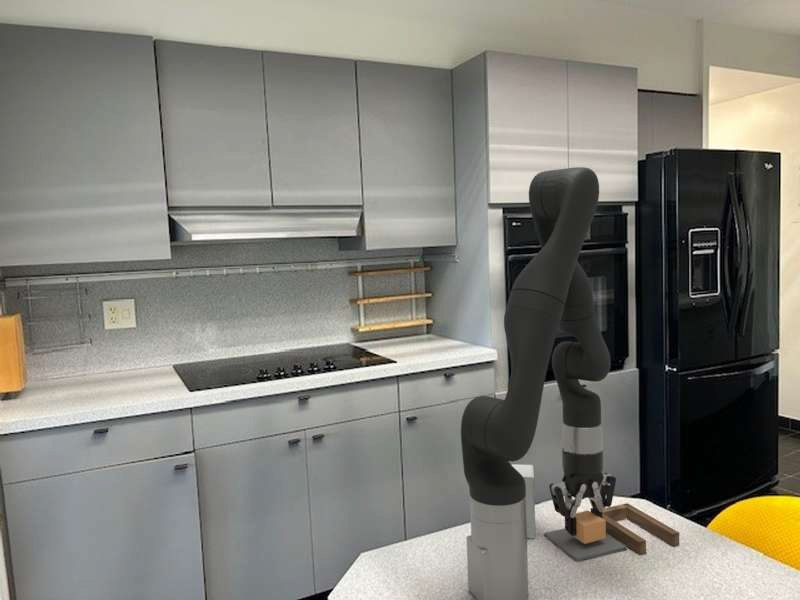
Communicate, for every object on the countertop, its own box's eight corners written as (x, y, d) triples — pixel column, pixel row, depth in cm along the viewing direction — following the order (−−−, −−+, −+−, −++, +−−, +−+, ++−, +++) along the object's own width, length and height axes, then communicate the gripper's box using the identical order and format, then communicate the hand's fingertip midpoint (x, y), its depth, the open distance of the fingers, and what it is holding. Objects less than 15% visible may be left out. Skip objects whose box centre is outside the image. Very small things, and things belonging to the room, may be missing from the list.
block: (584, 543, 114) (584, 525, 114) (567, 532, 119) (567, 515, 119) (605, 538, 116) (605, 520, 116) (588, 527, 121) (588, 510, 121)
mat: (576, 561, 111) (576, 558, 111) (543, 535, 122) (543, 532, 122) (626, 549, 115) (626, 546, 115) (590, 525, 125) (590, 522, 125)
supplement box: (535, 539, 121) (534, 477, 120) (498, 537, 122) (496, 476, 121) (535, 522, 128) (533, 464, 127) (499, 520, 129) (497, 463, 128)
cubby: (639, 555, 113) (639, 542, 113) (591, 522, 127) (590, 511, 126) (679, 545, 116) (679, 532, 116) (627, 514, 130) (627, 503, 129)
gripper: (601, 435, 123) (602, 516, 124) (539, 445, 118) (541, 530, 119) (626, 446, 115) (627, 532, 117) (561, 457, 111) (563, 547, 112)
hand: (583, 530), depth 118 cm, fingers closed on block, 5 cm apart
